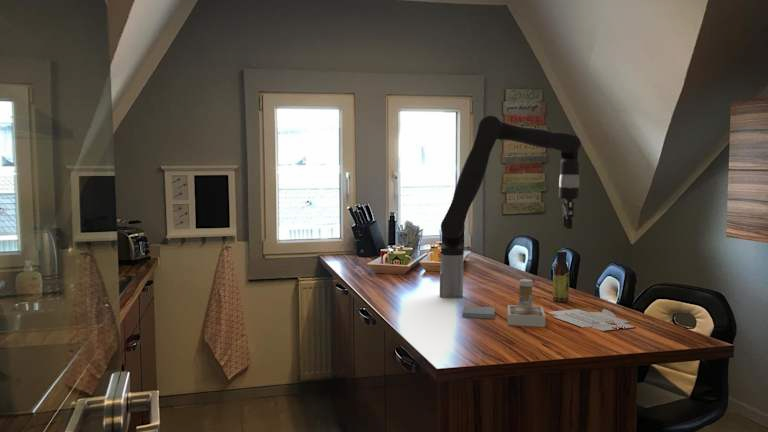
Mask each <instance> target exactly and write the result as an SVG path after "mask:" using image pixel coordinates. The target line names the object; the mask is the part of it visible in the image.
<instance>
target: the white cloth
mask: <svg viewBox="0 0 768 432" xmlns="http://www.w3.org/2000/svg"><path fill="white" fill-rule="evenodd" d="M548 313H549V314H551V315H553V316H551V318H554V319H558V320H561V321H564V322H567V323H570V324H572V325H575V326H578V327H581V329H584V328H583V327H587V328H590V327H592V328H591V329H594V328H595V330H596V329H598V330H597V331H599V330H602V331H603V332H604V331H612V330H615V329H613V328H612V327H614V328H615V327H616V326H618V327H620V328H621V327H622V326H623V327H622V328H623V329H630V328H634V327H635V326H633V325H629V324H628V323H626V322H630V321H629V320H628V321H627V320H625V319H623V318H622V319H621V318H618V317H616V314H614V313H613V312H612V311H611V310H609V309H606V308H602V311H600V312H599V311H593V312H591V311H590V312H589V311H586V310H582V309H580V308H575V309H565V310H564V309H563V310H554V311H548ZM606 322H607V323H606ZM608 323H615V324H617V325H611V324H608ZM618 327H617V329H616V330H620V329H619V328H618ZM624 327H625V328H624ZM602 331H601V332H602Z"/></svg>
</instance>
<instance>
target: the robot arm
mask: <svg viewBox="0 0 768 432" xmlns="http://www.w3.org/2000/svg"><path fill="white" fill-rule="evenodd" d="M475 135H476V136H475V139H474V142H473V144H472V148H471V150H470V151H469V153H468V156H467V157H466V160H465V162H464V164H463V167H461V171H460V173H459V176H458V178H457V183H456V186H455V188H454V193H453V198H452V200H451V203H450V206H449V207H448V209H447V211H446V214H445V216H444V217H443V219H442V221H441V224H440V230H441V245H440V246H441V247H440V273H439V297H443V298H449V299H452V298H453V299H455V298H456V299H457V298H462V297H463V296H464V257H465V255H464V253H465V250H464V249H465V233H466V232H465V228H466V227H465V222H466V219H467V215H468V212H469V209H470V207H471V205H472V203H473V201H474V199H475V198H476V196H477V194H478V192H479V190H480V188H481V186H482V183H483V180H484V178H485V174H486V172H487V168H488V164H489V158H490V155H491V152H492V149H493V147H494V145H495V143H496V141H497V140H504V141H511V142H512V141H513V142H517V143H521V144H526V145H529V146H534V147H538V148H542V149H548V150H549V149H551V150H557V151H559V153H560V155H559V156H560V165H559V167H560V168H559V178H558V179H559V180H558V182H559V183H558V198H559V199H563V201H562V217H563V223H562V225H563V227H565V229H568V230H570V229H571V230H572V228H573V219H574V217H575V215H574V214H575V212H574V211H575V202H574V200H576V199H579V197H580V195H579V194H580V175H579V174H580V162H579V150H580V147H581V144H582V143H581V139H580V137H579V136H577V135H575V134H572V133H566V132H557V131H553V130H552V131H551V130H548V129H543V128H538V127H532V126H523V125H522V126H521V125H516V124H515V125H514V124H511V123H507V122H505V121H502V120H501V119H500V118H499V117H498V116H496V115H492V114H491V115H486V116H484V117H482V119H480V121H479V123H478V128H477V132H476V134H475Z"/></svg>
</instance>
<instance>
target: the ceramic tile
mask: <svg viewBox="0 0 768 432" xmlns="http://www.w3.org/2000/svg"><path fill="white" fill-rule="evenodd" d="M495 309H496V308H495V307H494V306H493V307H492V306H473V305H472V306H471V305H463V309H462V318H477V319H495V311H496V310H495Z"/></svg>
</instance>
